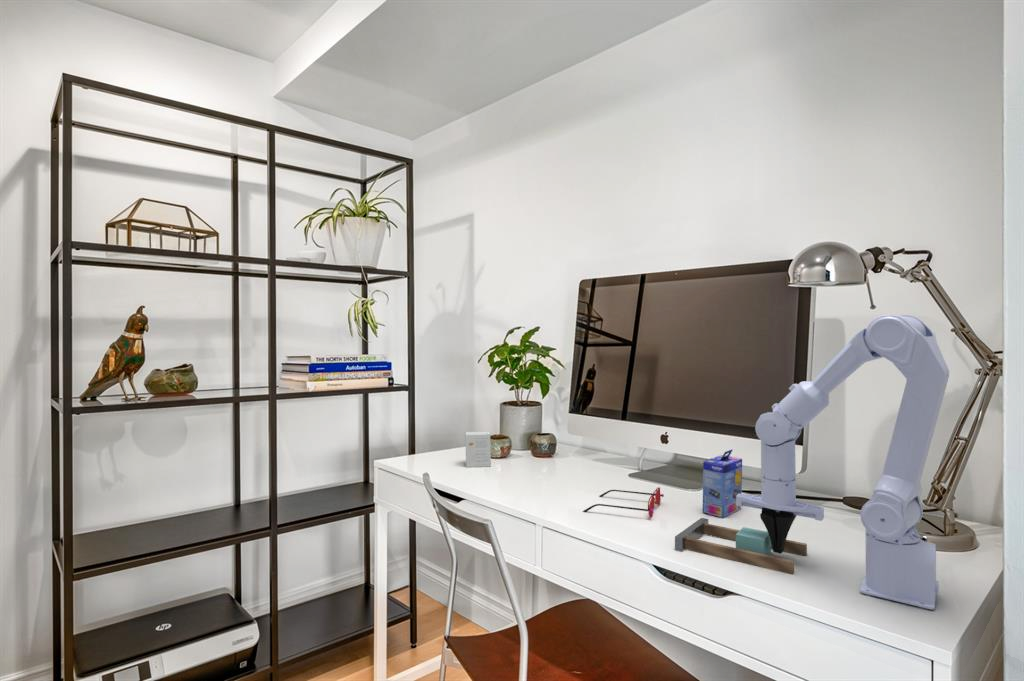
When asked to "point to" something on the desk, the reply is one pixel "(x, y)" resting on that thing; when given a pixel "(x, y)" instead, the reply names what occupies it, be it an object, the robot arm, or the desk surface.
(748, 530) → the block
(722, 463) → the ink cartridge box
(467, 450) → the small box
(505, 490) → the desk surface
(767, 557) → the guide track
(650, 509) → the glasses
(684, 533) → the end stop
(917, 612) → the desk surface
